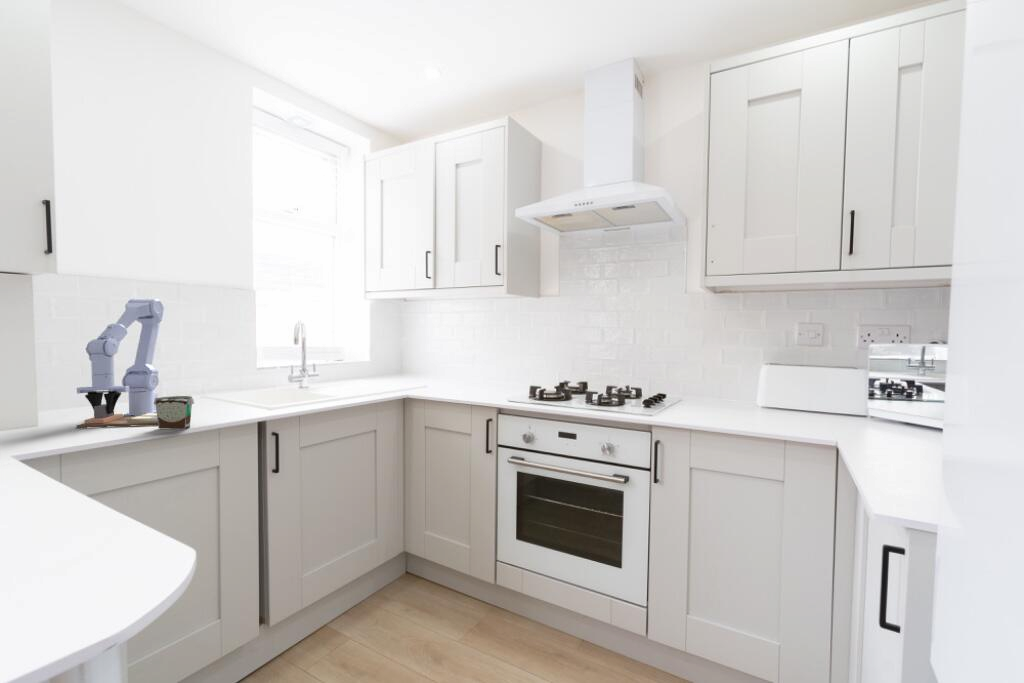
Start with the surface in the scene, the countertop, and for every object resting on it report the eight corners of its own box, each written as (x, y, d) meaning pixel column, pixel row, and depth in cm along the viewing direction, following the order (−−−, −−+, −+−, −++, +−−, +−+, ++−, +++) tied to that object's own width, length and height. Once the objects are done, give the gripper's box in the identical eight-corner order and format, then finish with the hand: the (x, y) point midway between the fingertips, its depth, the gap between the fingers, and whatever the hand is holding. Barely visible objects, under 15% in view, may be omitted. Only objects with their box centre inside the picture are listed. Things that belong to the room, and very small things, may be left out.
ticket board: (105, 419, 164) (105, 413, 164) (183, 417, 169) (183, 411, 169) (76, 428, 150) (76, 421, 150) (162, 425, 155) (162, 418, 155)
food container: (204, 425, 155) (203, 396, 154) (189, 429, 149) (188, 398, 148) (170, 424, 156) (169, 395, 156) (154, 428, 150) (153, 398, 150)
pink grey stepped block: (104, 417, 162) (104, 403, 162) (123, 417, 163) (122, 402, 163) (84, 423, 152) (83, 408, 152) (103, 423, 153) (103, 407, 153)
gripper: (69, 375, 152) (70, 416, 152) (119, 374, 155) (120, 415, 155) (84, 373, 159) (85, 412, 159) (132, 372, 162) (133, 411, 162)
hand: (104, 413), depth 158 cm, fingers closed on pink grey stepped block, 3 cm apart
